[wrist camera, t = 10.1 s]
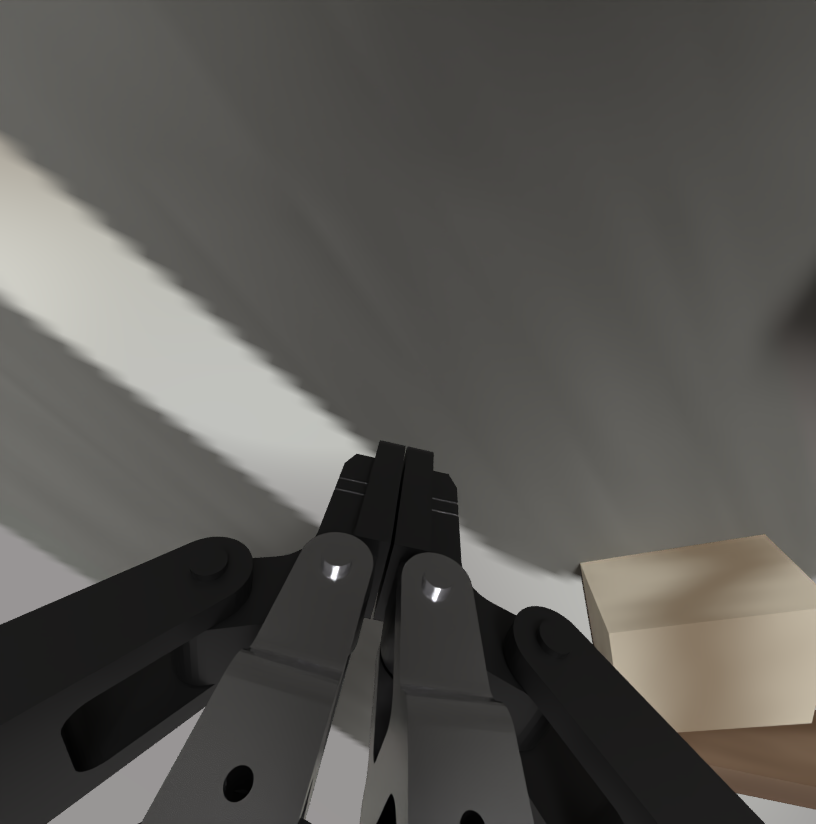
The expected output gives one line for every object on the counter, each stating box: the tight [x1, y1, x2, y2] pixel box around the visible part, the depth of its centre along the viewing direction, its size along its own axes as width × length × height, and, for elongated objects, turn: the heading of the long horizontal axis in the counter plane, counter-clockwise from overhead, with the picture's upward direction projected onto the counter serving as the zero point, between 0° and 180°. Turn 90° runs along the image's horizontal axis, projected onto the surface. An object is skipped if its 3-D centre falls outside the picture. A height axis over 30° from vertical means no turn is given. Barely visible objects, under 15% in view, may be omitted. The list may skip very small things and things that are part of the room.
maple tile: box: [580, 534, 816, 732], centre depth 14 cm, size 6×6×3 cm
